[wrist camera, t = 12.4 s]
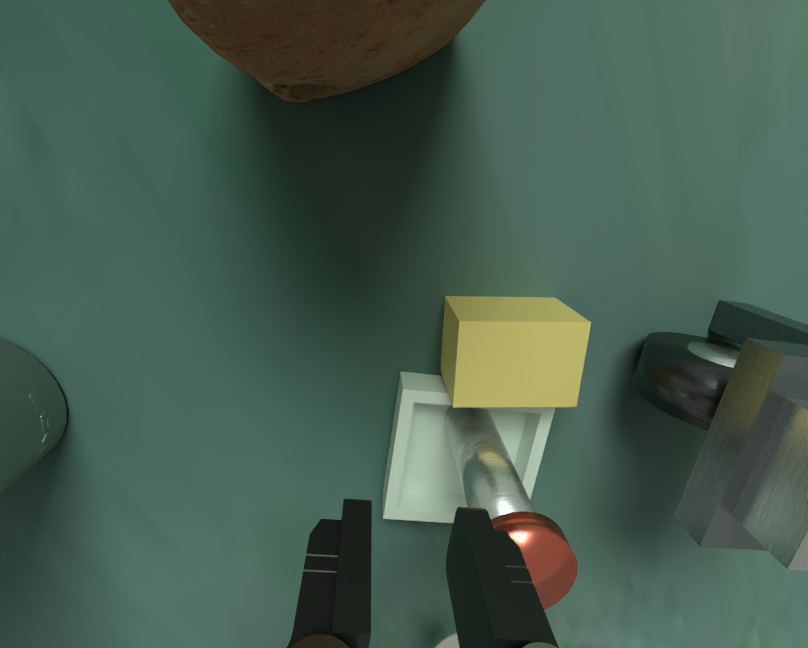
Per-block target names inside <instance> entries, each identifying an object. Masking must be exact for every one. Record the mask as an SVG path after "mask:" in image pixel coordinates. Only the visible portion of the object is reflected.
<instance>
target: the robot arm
mask: <svg viewBox="0 0 808 648" xmlns="http://www.w3.org/2000/svg"><path fill="white" fill-rule="evenodd" d="M66 421H67V409H66V405H65V400H64V396H63V394H62V392H61V390H60V388H59V386H58V384H57V382H56V381H55V379H54V378H53V377H52V375H51V374H50V373H49V371H48V370H47V369H46V368H45V367H44V366H43V365H42V364H41V363H40V362H39V361H37V360H36V359H35V358H34V357H33V356H31V355H30V354H28V353H27V352H25V351H24V350H22V349H21V348H19V347H17V346H15V345H13V344H10V343H8V342H6V341H4V340H2V339H0V494H1V493H2V492H4V491H5V490H6V489H7V488H8V487H9V486H11V485H12V484H13V483H14V482H15V481H16V480H17V479H19V478H20V477H21V476H22V475H23V474H24V473H25V472H27V471H28V470H29V469H30V468H31V467H32V466H33V465H35V464H36V463H37V462H38V461H39V460H40V459H41V458H43V457H44V456H45V455H46V454H47V453H48V452H49V451H50V450H52V449H53V448H54V447H55V446H56V445H57V443H58V442H59V440H60V439H61V437H62V435H63V433H64V429H65V426H66ZM371 511H372V503H371V500H356V499H344V502H343V510H342V519H341V520H331V519H321V520H320V521H319V522H318V524H317V525H316V526H315V528H314V529H313V531H312V532H311V533H310V536H309V542H308V548H307V554H306V559H305V565H304V571H303V576H302V582H301V588H300V593H299V599H298V605H297V610H296V616H295V622H294V628H293V633H292V637H291V640H290V642H289V645H288V646H287V648H369V642H370V635H371ZM446 571H447V580H448V585H449V591H450V596H451V602H452V608H453V613H454V619H455V624H456V630H457V635H458V641H459V646H460V648H559V647H558V645H557V643H556V640H555V638H554V635H553V632H552V630H551V627H550V625H549V622H548V620H547V617H546V614H545V612H544V609H543V607H542V604H541V601H540V599H539V596H538V594H537V591H536V589H535V586H534V584H532V578H531V576H530V573H529V570H528V569H527V568H526V563H525V560H524V558H523V555H522V552H521V550H520V547H519V546H518V545H517V544H516V542H515V541H514V540H513V539H512V538H511V536H510V535H509V534H508V533H507V532H506V531H500V530H494V528H493V525H492V522H491V519H490V516H489V513H488V511H487V510H486V509H484V508H470V507H458V508H457V510H456V513H455V518H454V522H453V527H452V531H451V536H450V541H449V545H448V550H447V558H446Z"/></svg>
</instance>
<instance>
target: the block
mask: <svg viewBox="0 0 808 648" xmlns="http://www.w3.org/2000/svg"><path fill="white" fill-rule="evenodd" d="M168 1H169V3H170V4H171V5H172V7H173V8H174V10H175V11H176V13H177V14H178V16H179V17H180V19H181V20H182V22H183V23H184V24H186V25H187V26H188V27H189V28H190V29H191V30H192V31H193V32H194V33H195V34H196V35H197V36H198V37H199V38H201V39H202V40H203V41H204V42H205V43H206V44H207V45H208V46H209V47H210V48H211V49H212V50H213V51H214V52H215V53H217V54H218V55H220V56H221V57H223V58H224V59H226V60H227V61H229V62H230V63H231V64H233V65H234V66H235V67H236V68H238V69H239V70H241V71H243V72H245V73H247V74H249V75H251V76H253V77H255V79H256V80H257V81H258V82H259V83H260V84H262V85H263V86H264V87H265V88H267V89H268V90H269V91H271V92H272V93H273V94H275V95H276V96H278V97H280V98H281V99H283V100H285V101H292V102H306V101H309V100H312V99H320V98H325V97H329V96H334V95H338V94H342V93H346V92H349V91H353V90H356V89H359V88H362V87H364V86H368V85H371V84H374V83H377V82H379V81H382V80H385V79H387V78H389V77H391V76H393V75H395V74H398V73H400V72H402V71H404V70H406V69H408V68H410V67H411V66H413V65H415V64H417V63H419V62H420V61H422V60H424V59H426V58H427V57H429V56H430V55H432V54H433V53H435V52H436V51H438V50H439V49H441V48H442V47H444V46H445V45H447V44H448V43H449V42H450V41H451V40H452V39H453V38H454V37H455V36H456V35H457V34H458V33H459V32H460V31H461V30H462V28H463V27H464V26H465V25H466V24H467V23H468V22H469V21H470V20H471V18H472V17H473V16H474V14H475V13H476V12H477V11H478V9H479V8H480V7H481V6H482V4H483V3H484V2H485V1H486V0H168Z"/></svg>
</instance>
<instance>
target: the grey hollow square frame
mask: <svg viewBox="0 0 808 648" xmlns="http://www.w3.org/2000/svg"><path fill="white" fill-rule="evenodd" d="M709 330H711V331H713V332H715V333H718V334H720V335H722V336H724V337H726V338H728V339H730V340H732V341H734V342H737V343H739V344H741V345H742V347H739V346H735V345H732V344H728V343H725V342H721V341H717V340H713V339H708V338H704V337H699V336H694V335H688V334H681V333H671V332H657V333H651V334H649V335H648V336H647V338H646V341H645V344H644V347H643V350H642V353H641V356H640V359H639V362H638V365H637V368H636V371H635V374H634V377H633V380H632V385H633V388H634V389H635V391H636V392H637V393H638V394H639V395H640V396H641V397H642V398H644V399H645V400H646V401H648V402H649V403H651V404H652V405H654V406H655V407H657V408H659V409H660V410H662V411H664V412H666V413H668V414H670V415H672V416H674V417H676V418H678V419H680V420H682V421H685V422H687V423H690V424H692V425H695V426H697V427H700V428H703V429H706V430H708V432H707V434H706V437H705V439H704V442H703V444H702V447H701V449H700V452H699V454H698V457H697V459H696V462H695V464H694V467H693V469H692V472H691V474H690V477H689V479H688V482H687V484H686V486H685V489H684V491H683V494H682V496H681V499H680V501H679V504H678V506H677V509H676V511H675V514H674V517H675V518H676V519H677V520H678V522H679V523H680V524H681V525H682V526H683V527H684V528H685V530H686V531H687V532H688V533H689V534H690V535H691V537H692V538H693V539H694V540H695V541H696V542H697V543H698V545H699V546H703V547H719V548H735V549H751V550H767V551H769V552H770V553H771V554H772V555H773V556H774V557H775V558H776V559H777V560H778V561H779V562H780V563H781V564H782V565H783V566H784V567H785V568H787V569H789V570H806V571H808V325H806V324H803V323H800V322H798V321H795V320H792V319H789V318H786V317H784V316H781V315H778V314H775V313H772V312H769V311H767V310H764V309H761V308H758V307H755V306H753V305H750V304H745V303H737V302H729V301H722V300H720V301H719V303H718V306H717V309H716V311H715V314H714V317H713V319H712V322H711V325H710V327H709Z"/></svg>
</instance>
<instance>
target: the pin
mask: <svg viewBox="0 0 808 648" xmlns="http://www.w3.org/2000/svg"><path fill="white" fill-rule="evenodd" d="M445 425H446V428H447V432H448V436H449V439H450V443H451V447H452V451H453V454H454V458H455V462H456V465H457V469H458V473H459V477H460V480H461V484H462V488H463V491H464V495H465V499H466V502H467V506H468V507H470V508H484V509H486V510H487V511H488V513H489V516H490V519H491V522H492V525H493V528H494V530H500V531H506V532H507V533H508V534H509V535H510V536H511V538H512V539H513V540H514V541H515V542H516V544H517V545H518V546H519V547H520V550H521V552H522V555H523V558H524V560H525V563H526V568H527V569H528V570H529V573H530V576H531V578H532V584H534V586H535V589H536V591H537V594H538V596H539V599H540V601H541V604H542V607H543V609H547V608H549V607H551V606H552V605H554V604H555V603H557V602H558V601H560V600H561V599H562V598H563V597H564V596H565V595H566V594H567V593H568V592H569V590H570V589H571V587H572V586H573V584H574V582H575V579H576V576H577V569H578V567H577V561H576V557H575V555H574V553H573V551H572V549H571V547H570V545H569V543H568V541H567V539H566V537H565V535H564V533H563V531H562V530H561V528H560V527H559V526H558V525H557V524H556V523H555V522H554V521H553V520H552V519H550V518H548V517H546V516H544V515H542V514H538V513H536V512H535V510H534V508H533V506H532V503H531V501H530V499H529V497H528V495H527V493H526V490H525V488H524V486H523V484H522V482H521V480H520V477H519V475H518V473H517V471H516V469H515V467H514V465H513V462H512V460H511V458H510V456H509V454H508V452H507V449H506V447H505V445H504V443H503V441H502V439H501V436H500V434H499V432H498V430H497V428H496V426H495V423H494V421H493V419H492V417H491V415H490V413H489V410H488V409H482V408H471V407H453V406H450V407H449V408H448V410H447V411H446V414H445Z"/></svg>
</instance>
